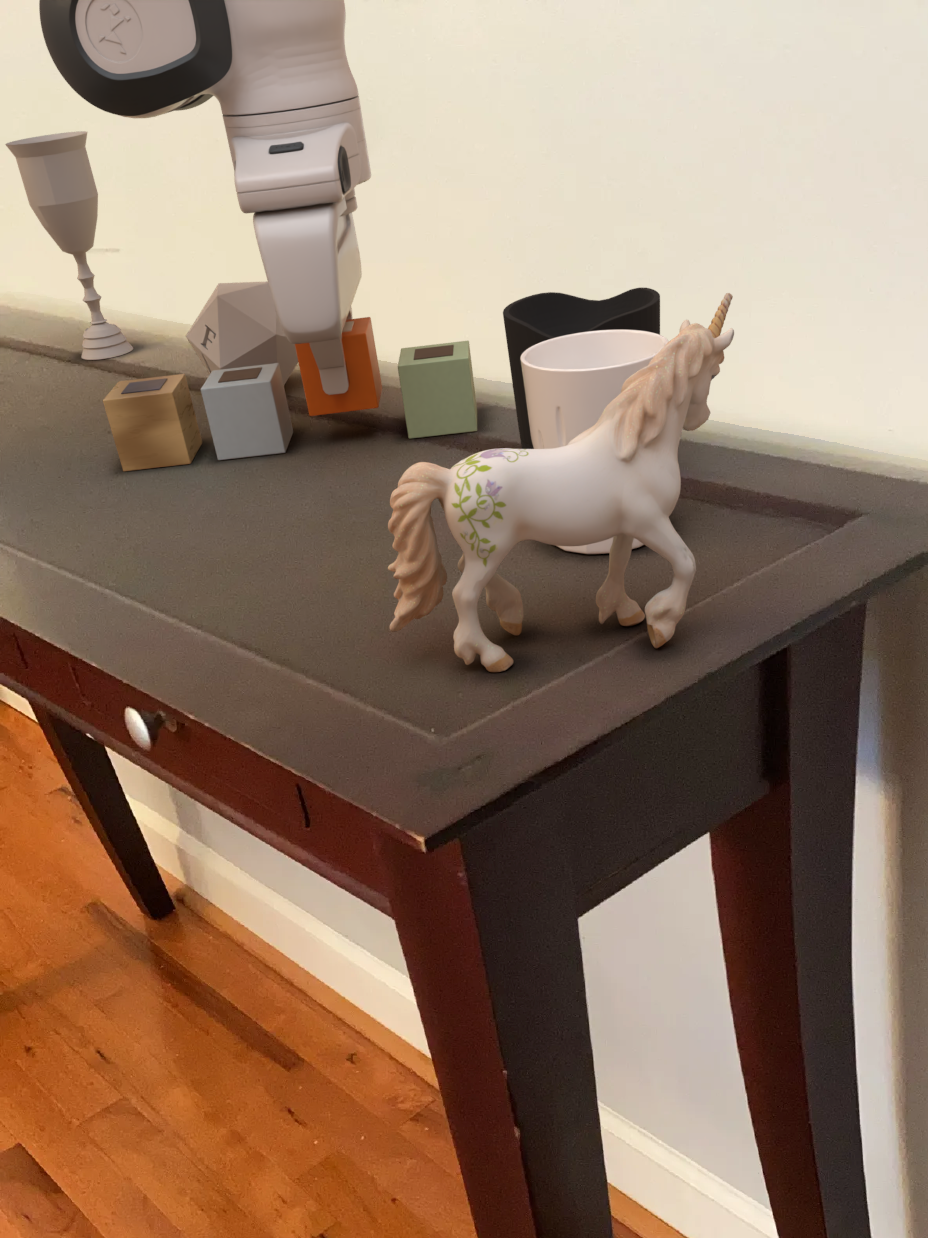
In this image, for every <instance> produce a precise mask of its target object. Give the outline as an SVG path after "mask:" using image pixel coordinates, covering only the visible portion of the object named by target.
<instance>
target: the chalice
mask: <svg viewBox="0 0 928 1238" xmlns="http://www.w3.org/2000/svg"><path fill="white" fill-rule="evenodd" d="M87 138H88V131H85V130H84V131H83V130H82V131H81V130H79V131H67V132H59V133H52V134H51V133H50V134H44V135H38V136H31V137H27V138H22V139H17V140H13V141H9V142H7V143H5V144H4V145H5V146H6V147H7V149H8V150H9V151H10V152H11V154H12V155H13V156H14V157H15V160H16V164H17V167H18V171H19V173H20V177H21V181H22V184H23V188H24V190H25V194H26V198H27V201H28V204H29V206H30V208H31V210H32V212H33V213H34V215H35V216H36V219H37V220H38V221H39V223H40V224H41V226H42V227H43V228H44V230H45V231H46V232H47V234H48V235H49V237H51V239H52V241H54V243H55V244H56V246H58V248H59V249H60V250H61V252H62V253H66V254H69V255H72V256H73V258H74V261H75V262H76V265H77V280H78V282H80V283H81V285H82V287H83V291H84V295H83V298H82V301H83V302H84V303H85V304H86V305H87V307H88V309H89V311H90V316H91V321H90V322H89V324H91V325H90V326H89V327H87V328H85V329H84V331H83V335H82V338H83V340H82V344H81V348H82V352H81V357H80V358H81V359H83V360H86V361H92V360H93V361H95V360H104V359H111V358H115V357H119V356H123V355H126V354H128V353H131V352H132V351H133V350H134V347H133V346H132V345H131V343H130V342H129V341H128V340H127V336H126V335H125V334H124V333H123V332H122V329H121V328H120V327H119V326H118V325H116V324H115V323H109V322H107V321H108V319H106V318H105V317H104V314H103V313H102V311H101V303H100V301H101V299H102V296H101V295H100V294H99V293H98V292H97V290H96V288H95V284H94V279H95V277H96V275H95V274H94V273H93V271H92V270H91V268H90V266H89V264H88V260H87V252H89V251H90V250H91V249H92V248H93V247H94V246H95V245H94V244H95V237H96V229H97V223H98V215H99V214H98V213H99V212H98V211H99V210H98V209H99V192H98V188H97V185H96V181H95V178H94V177H95V176H94V174H93V170H92V167H91V166H92V165H91V163H90V159H89V154H88V152H87V147H86V145H87Z"/></svg>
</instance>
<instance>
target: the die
mask: <svg viewBox="0 0 928 1238" xmlns="http://www.w3.org/2000/svg"><path fill="white" fill-rule="evenodd" d="M185 338H186V340H187V341H188V343H189V344H190V346H191V348H192V349H193V351H194V352H195V354H196V355H197V357H198V359H199V360H200V361H201V363H202V365H203V366H204V368H205V370H206V371H207V372H208V374H209V375H210V374H211V372H212V371H213V370H222V369H230V368H239V367H247V366H256V365H264V364H273V363H279V365H280V370H281V375H282V380H283V385H284V386H285V384H286V383H287V381H288V379H289V378H290V376H292V373H293V372H294V370H295V368H296V366H297V365H298V364H299V362H298V357H297V353H296V348H295V344H292V343H290V342H289V340H288V339H287V337H286V335H285V333H284V331H283V329H282V326H281V324H280V321H279V318H278V315H277V312H276V308H275V305H274V301H273V298H272V294H271V291H270V288H269V284H268V280H267V281H244V282H243V281H242V282H241V281H239V282H219V283H217V285H216V287H215V288H214V290H213V291H212V293H211V295H210V296H209V298H208V299H207V301H206V303H205V304H204V306H203V308H202V309H201V311H200V313H199V314H198V316H197V317H196V318H195V320H194V321H193V324H192V325H191V326H190V328H189V330H188V331H187V333H186V334H185Z"/></svg>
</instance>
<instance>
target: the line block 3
mask: <svg viewBox="0 0 928 1238" xmlns="http://www.w3.org/2000/svg"><path fill="white" fill-rule="evenodd" d="M472 362H473V361H472V355H471V346H470V341H469V340H461V341H453V342H451V341H450V342H444V343H443V342H442V343H436V344H427V345H418V346H410V347H402V348H400V353H399V357H398V362H397V371H398V377H399V378H398V379H399V384H400V391H401V398H402V404H403V410H404V419H405V424H406V431H407V437H408V439H410V440H411V439H419V438H420V439H421V438H429V437H437V436H444V435H445V436H446V435H447V436H448V435H454V434H455V435H456V434H463V433H471V432H478V406H477V396H476V388H475V380H474V372H473V364H472Z"/></svg>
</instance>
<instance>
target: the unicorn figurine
mask: <svg viewBox="0 0 928 1238" xmlns="http://www.w3.org/2000/svg"><path fill="white" fill-rule="evenodd" d="M732 300H733V294H732V293H730V292H727V293H725V294H724V296H723V298H722V300H721V301H720V305H719V306H717V310H716V311H715V313H714V316H713V317H712V319H711V321H710V324H709V326H708V327H707V328H706V327H705V326H704V325H702V324H700V323H697V322H695V323H691V322H690V320H689V319H687V318H686V319H684V320H683V321H682V322H681V324H680V327H679V333H678V334H677V335H676V336H675V337H673V338H672V339H671V340H668V341H669V342H668V343H667V344H666V345H665V346H664V348H663V349H662V350H661V351H659V352H658V353H657V354H656V355H655V356H654V357H653V359H652V360H651V361H650V363H649V364H648V366H646V367H644V368H642V369H640V370H639V371H637V372H636V373H634V374H633V375H631V376H630V377H629V378H628V379H627V380H625V382H624V384H623V386H622V389H621V394H619V395H618V396H617V397H616V398H615V399H614V400H612V401H611V402H610V403H609V404H608V405H607V406H606V408H605V409H604V411H603V413H602V415H601V417H600V418H599V420H598V421H597V423H596V424H595V425H594V426H592V427H591V428H589V429H587V430H586V431H584V432H582V433H581V434H579V435H578V436H577V437H575V438H574V439H573V440H571V441H570V442H569V444H568V445H567V446H563V447H558V448H553V449H522V448H511V447H505V448H503V447H502V448H491V449H485V450H482V451H478V452H475V453H473V454H471V455H469V456H467V457H465V458H463V459H461V460H459V461H458V462H457V463H455V464H454V465H452V466H451V467H450V468H446V467H444V466H441V465H438V464H436V463H431V462H428V461H427V462H426V461H419V462H416V463H414V464H412V465H410V466H409V467H408V468H407V469H406V470H405V471H404V472H403V474H402V475H401V477H400V478H399V480H398V482H397V488H395V489H394V490H393V491H392V492H391V495H390V499H389V506H390V507H391V509H392V510H393V511H392V514H391V518H390V519H389V520H388V523H387V528H388V531H389V533H390V534H392V535H393V536H394V540H393V542H392V549H393V550H394V551H396V552H398V554H397V557H396V559H395V560H394V562H392V563H390V564H389V565H388V567H387V570H388V571H390V572H393V578H394V579H395V580H398V584H397V586H396V588H395V590H394V592H393V597H394V598H395V599H396V600H397V601H398V602H397V605H396V607H395V609H394V612H393V614H394V618H393V620H391V622H390V624H389V631H390V632H392V633H396V632H400V631H402V629H403V628H405V627H406V626H407V625H408V624H410V623H411V622H412V621H413V620H414V619H415V620H420V619H422V618H424V617H426V616H428V615H430V614H431V613H432V611H433V610H435V608H436V606H438V605H439V604H440V603H441V602H442V601H443V600H442V599H443V598H444V594H445V593H444V586H445V585H446V584H447V582H448V581H447V580H448V572H447V570H446V568H445V567H446V566H445V565H444V564H443V560H442V559H443V557H442V554H441V551H440V550H439V545H438V538H437V534H436V530H435V523H434V521H433V517H432V515H431V514H432V505H433V502H434V500H437V499H438V502H439V504H440V507H441V508H442V511H443V512H444V517H445V518H444V519H445V521H446V524H447V527H448V529H449V531H450V533H451V534H452V538H453V539H454V540H455V541H456V544H458V547H459V548H460V549H461V551H462V555H461V557H460V558H459V560H458V562H457V569H458V570H459V572H461V573H462V574H461V576H460V577H459V580H458V581H457V583H456V584H455V586H454V587H453V589H452V590H451V593H452V594H451V595H452V600H453V604H454V606H455V610H456V613H457V617H458V623H457V625H456V628H455V630H453V635H452V637H453V641H454V642H453V648H454V649H453V651H454V653H455V656H457V657H458V658H460V659H462V660H463V661H464V664H465V665H466V666H469V665H471V664H472V663H473V662H474V661H475V659H476V657H477V656H479V657H480V658H479V659H480V663H481V665H482V666H483V667H485V669H486V671H488V672H490V673H500V672H505V671H506V670H508V669H509V668H510V667H511V666H513V664H514V659H513V657H511V656H510V655H509V654H508V653H507V652H506V651H505V650H504V648H503V646H500V645H497V644H495V643H493V642H492V641H490V639H489V638H487V636H486V635H485V633H484V631H483V629H482V626H481V623H480V619H479V612H478V604H479V600H480V597H481V594H482V593H483V591H484V589H485V602H486V606H487V608H488V609H490V610H491V611H492V612H495V613H496V616H497V618H498V619H499V625H500V627H501V628H502V629H503V630H505V631H506V632H507V633H509V634H510V635H513V636H519V635H521V633H522V631H523V630H522V628H523V620H524V605H523V600H522V595H521V592H520V590H519V589H518V588H517V587H516V586H515V585H514V584H512V583H510V582H509V581H508V580H506V579H505V578H504V577H502V576H501V575H500V574H498V572H497V571H498V569H499V567H500V566H501V564H502V562H503V561H504V560H505V559H506V557H507V556H508V555H509V554H510V552H511V551H512V550H513V549H514V547H515V546H516V545H517V544H518V543H520V542H523V541H535V542H539V543H542V544H544V545H545V544H546V545H551V546H555V545H556V547H557V546H583V545H588V544H593V543H597V542H601V541H604V540H608V539H610V538H612V537H613V543H612V546H611V548H610V553H608V554H609V556H608V557H609V559H608V561H609V562H608V573H607V576H606V578H605V579H604V581H603V583H602V584H601V586H600V587H599V588H598V590H597V591H596V594H595V595H596V596H595V603H596V606H597V607H598V610H599V612H598V622H599V623H600V624H601V625H604V623H605V622H606V620H607V619H609V618H610V617H611V616H612V615H613V614H614V613H615V614H616V617H617V620H618V623H619V625H621V626H623V627H632V626H635V625H638V624H640V623H642V622H643V621H644V620H645V619H646V627H647V633H648V636H649V639H650V643H651V645H652V646H653V647H654V648H655V649H658V648H660V647H662V646H663V645H664V644H666V643H667V642H668V641H670V640H671V639H672V637H673V636H674V635H675V632H676V628H677V627H676V626H677V624H678V623H680V621H681V619H682V618H683V616H684V615H685V612H686V608H687V601H688V595H689V592H690V589H691V587H692V584H693V581H694V578H695V575H696V571H697V564H696V559H695V556H694V554H693V552H692V551H691V550H690V548H689V546H687V544H686V543H685V541H684V540H683V539H682V537H681V536H680V534H679V533H678V532H677V531H676V528H675V527H674V525H673V524H672V522H671V519H670V516H671V515H672V513H673V511H674V510H675V508H676V505H677V503H678V501H679V498H680V494H681V487H682V479H681V470H680V464H679V459H678V457H679V446H680V441H681V437H682V433H683V430H684V431H688V432H690V431H691V432H692V431H695V430H697V429H699V428H700V427H701V426H702V425H705V423H706V422H707V421H708V420H709V418H710V415H711V410H710V408H709V406H708V397H709V395H710V389H711V383H712V380H713V379H714V378H716V377H717V376H718V375H719V374H720V372H721V367H720V365H721V364H723V363H724V362H725V361H724V360H725V352H724V350H726V349H727V348H729V346H730V345H731V344H732V341H733V339H734V337H735V330H734V329H733V328H732V327H731V328H729V329H728V330H726V331H725V332H724V333H722V328H723V327H724V324H725V321H726V318H727V315H728V312H729V309H730V306H731V304H732V303H731V302H732ZM721 333H722V334H721ZM634 538H635V539H637V540H638V541H640V542H641V543H643V544H644V545H643V546H646V547H647V548H649V549H650V550H652V552H655V553H657V554H658V555H659V556H660V557H662V558H663V559H665V560H666V561H667V562H669V564H670V565H671V569H672V572H673V578H672V582H671V583H670V585H669V587H667V588H665V589H663V590H661V591H658V592H657V593H655V594H654V595H653V597H651V598H650V599H649V600H648V601H647V603H646V604H645V607H644V611H643V609H641V607H640V605H639V603H638V602H637V601H636V600H634V599H631V598H630V597H629V596H628V594H627V592H626V589H625V573H626V570H627V568H628V565H629V563H630V562H629V561H630V558H631V556H632V550H633V549H632V543H633V539H634Z"/></svg>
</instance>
